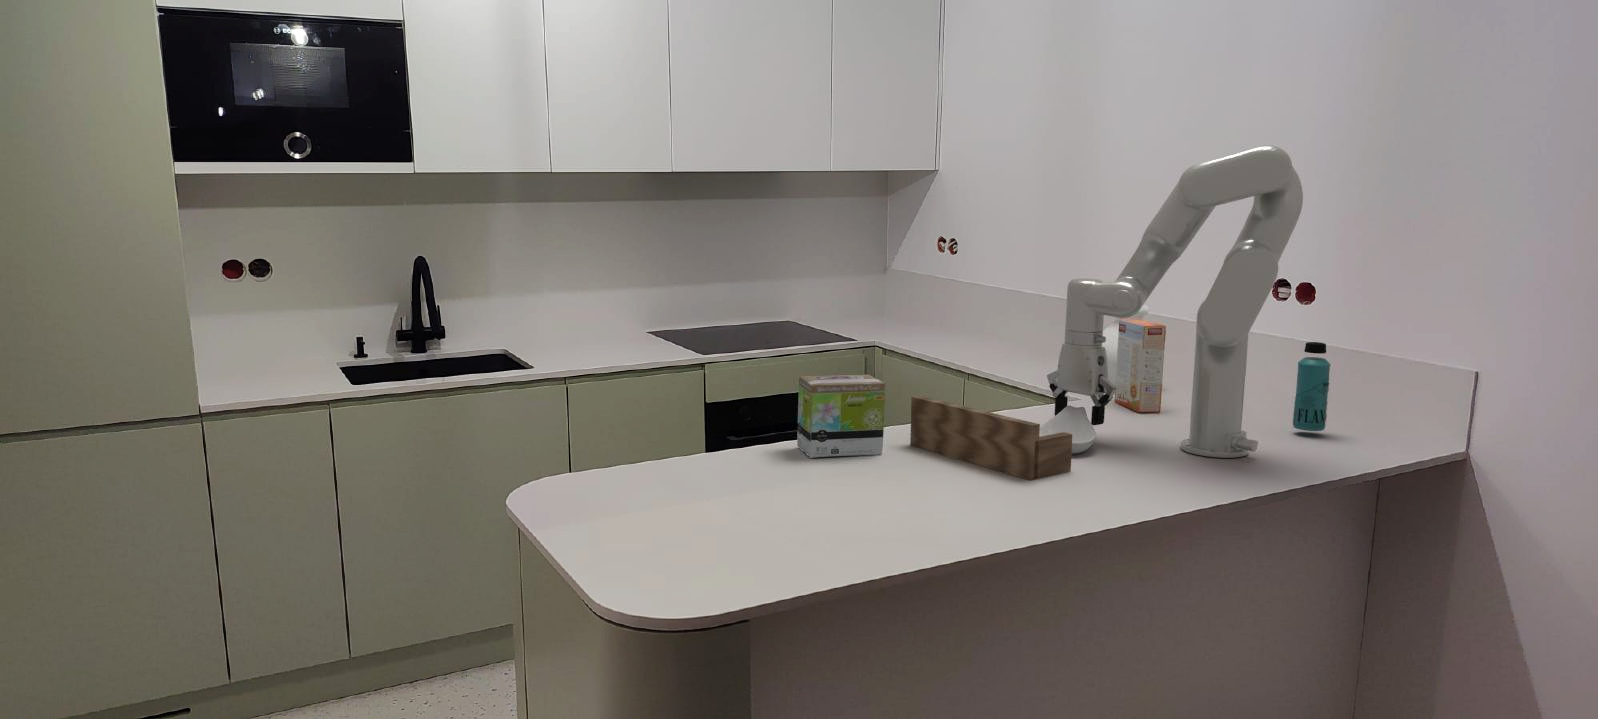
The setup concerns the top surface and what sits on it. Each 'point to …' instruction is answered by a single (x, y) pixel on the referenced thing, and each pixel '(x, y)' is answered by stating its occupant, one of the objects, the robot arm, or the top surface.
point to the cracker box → (1140, 365)
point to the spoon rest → (1072, 427)
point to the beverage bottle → (1312, 390)
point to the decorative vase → (1116, 342)
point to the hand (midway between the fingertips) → (1078, 420)
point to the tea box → (840, 415)
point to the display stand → (988, 439)
